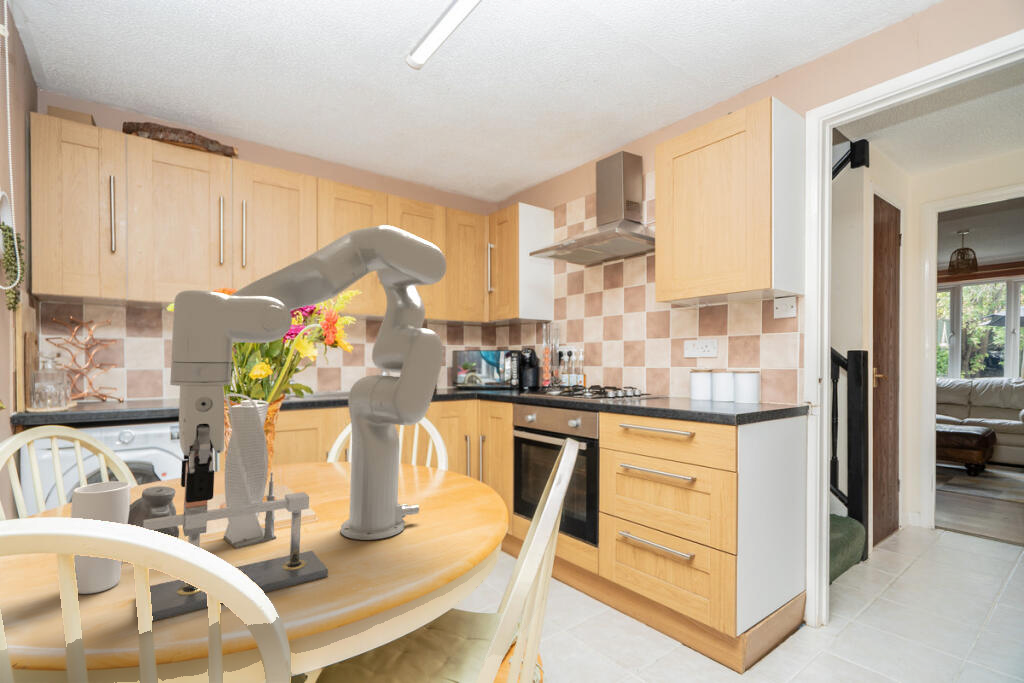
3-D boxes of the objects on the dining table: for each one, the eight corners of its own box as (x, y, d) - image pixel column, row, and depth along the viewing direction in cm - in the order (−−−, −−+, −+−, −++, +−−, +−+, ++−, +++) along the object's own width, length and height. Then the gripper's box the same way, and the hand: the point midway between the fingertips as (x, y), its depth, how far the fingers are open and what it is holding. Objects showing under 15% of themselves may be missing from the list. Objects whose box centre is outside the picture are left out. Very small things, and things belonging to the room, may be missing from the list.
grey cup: (137, 577, 75) (142, 481, 76) (101, 598, 69) (107, 493, 69) (93, 576, 75) (98, 480, 76) (53, 598, 68) (59, 492, 69)
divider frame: (301, 559, 80) (304, 491, 81) (306, 566, 78) (309, 496, 78) (139, 596, 67) (143, 515, 68) (139, 605, 65) (143, 521, 65)
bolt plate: (311, 557, 84) (312, 549, 84) (327, 576, 77) (327, 567, 77) (139, 596, 70) (139, 586, 70) (139, 624, 62) (139, 614, 62)
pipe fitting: (118, 538, 90) (128, 484, 90) (170, 531, 95) (179, 480, 95) (125, 566, 81) (136, 506, 81) (182, 557, 87) (191, 501, 87)
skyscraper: (227, 550, 86) (234, 395, 87) (213, 538, 92) (219, 392, 93) (275, 538, 92) (281, 393, 93) (259, 527, 98) (265, 390, 99)
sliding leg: (201, 577, 72) (206, 459, 72) (203, 587, 69) (209, 463, 70) (180, 582, 70) (185, 461, 71) (182, 592, 67) (187, 466, 68)
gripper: (240, 377, 66) (234, 503, 66) (223, 372, 80) (218, 476, 79) (174, 377, 62) (167, 513, 61) (167, 372, 75) (162, 483, 75)
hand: (196, 492), depth 70 cm, fingers open, 8 cm apart
